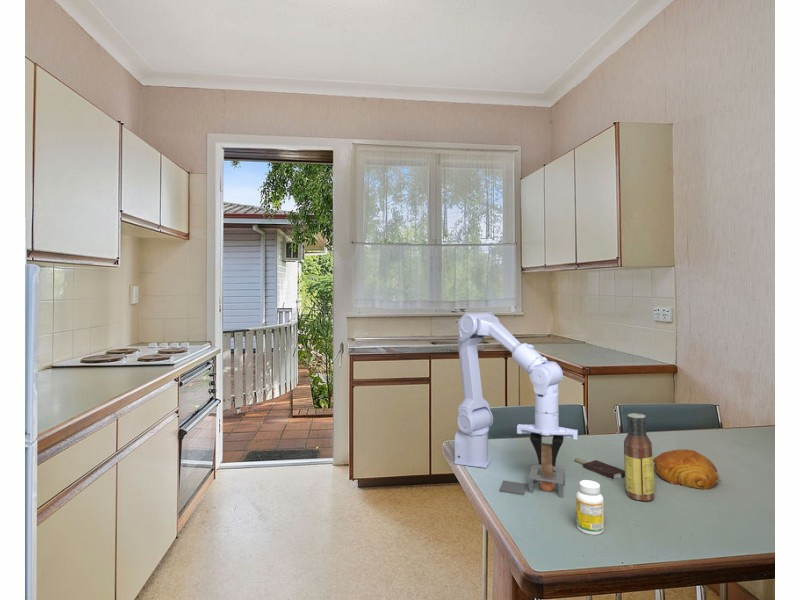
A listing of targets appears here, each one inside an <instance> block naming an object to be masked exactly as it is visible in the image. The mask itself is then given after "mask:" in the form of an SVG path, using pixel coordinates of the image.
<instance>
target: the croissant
mask: <svg viewBox="0 0 800 600" xmlns="http://www.w3.org/2000/svg"><path fill="white" fill-rule="evenodd" d="M653 468H654V471H655V473H657V475H658V477H660V478H661V479H663V480H665V481H666V482H668V483H669V484H673V485H676V486H681V485H682V486H684V487H688V488H692V489H693V488H694V489H699V490H700V489H701V490H710V489H711V488H713V487H714V486H715V485H716V484H717V482H718V479H719V474H718V470H717V468H716V466H715V464H714V463H713V461H711V460H710V459H709V458H708V457H707V456H705V455H703V454H701V453H699V452H697V451H696V450H693V449H674V450H670V451H669V450H668V451H665V452H662V453H660V454H659V455H657V456H655V457H653Z"/></svg>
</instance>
